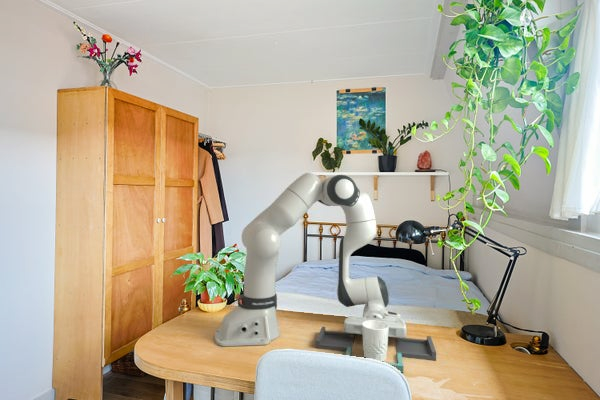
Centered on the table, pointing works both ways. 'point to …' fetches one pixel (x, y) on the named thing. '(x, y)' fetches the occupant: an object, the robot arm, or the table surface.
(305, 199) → the robot arm
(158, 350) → the table surface
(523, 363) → the table surface
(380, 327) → the white cup
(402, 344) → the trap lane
